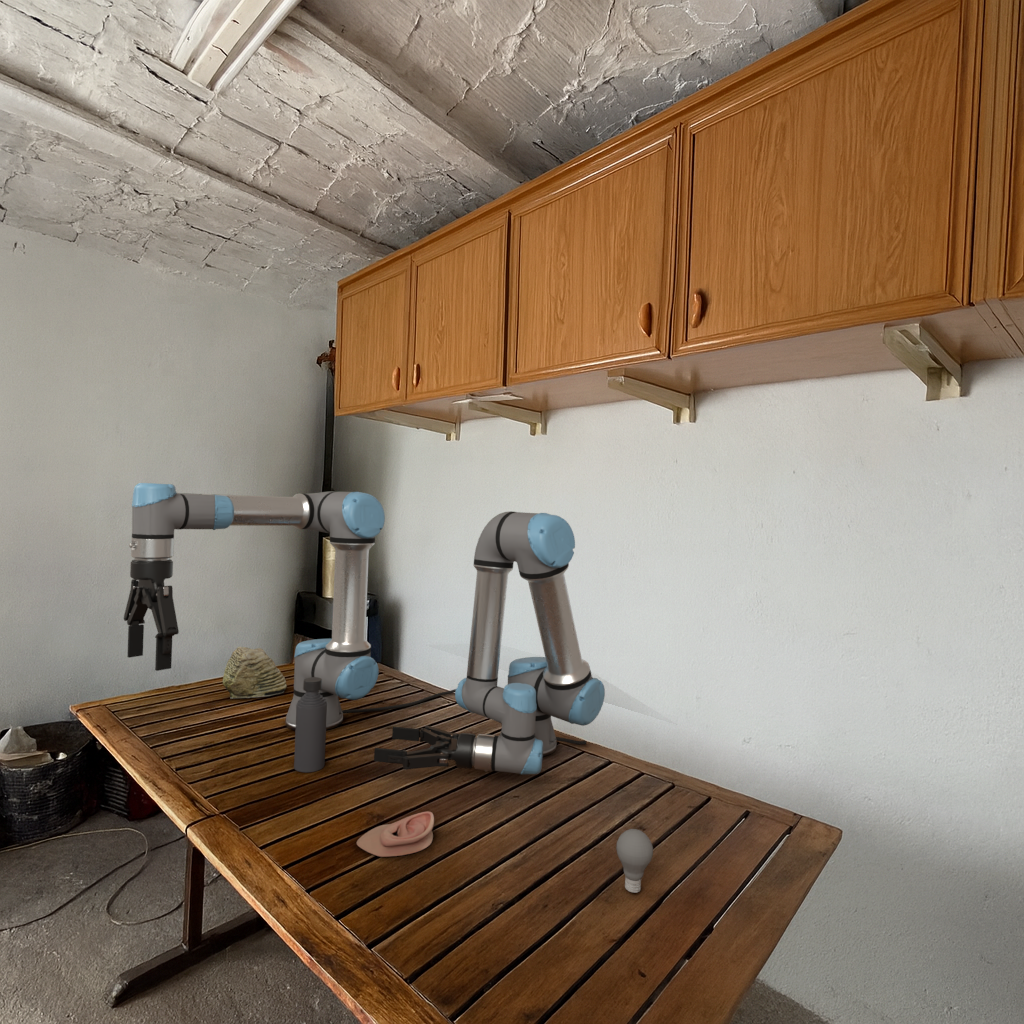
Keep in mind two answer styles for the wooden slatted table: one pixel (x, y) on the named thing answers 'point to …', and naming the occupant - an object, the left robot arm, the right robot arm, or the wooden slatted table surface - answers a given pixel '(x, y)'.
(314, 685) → the cap
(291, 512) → the left robot arm
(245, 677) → the fossil
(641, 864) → the light bulb
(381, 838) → the anatomical model
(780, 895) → the wooden slatted table surface
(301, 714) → the bottle
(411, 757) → the right robot arm
